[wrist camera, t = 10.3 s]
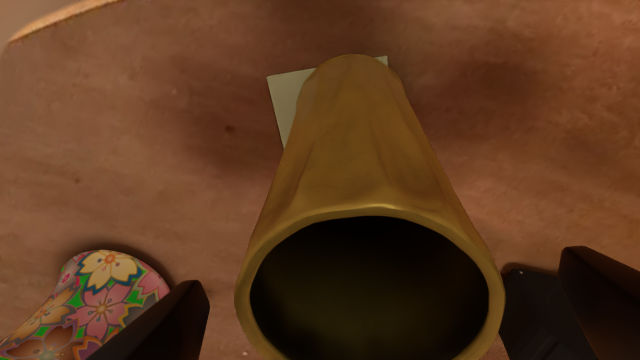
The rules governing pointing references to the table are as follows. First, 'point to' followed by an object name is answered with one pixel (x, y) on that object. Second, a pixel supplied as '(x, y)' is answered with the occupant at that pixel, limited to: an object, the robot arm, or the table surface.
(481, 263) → the vase
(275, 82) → the coaster
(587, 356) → the tape measure
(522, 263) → the table surface
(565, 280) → the robot arm
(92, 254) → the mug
